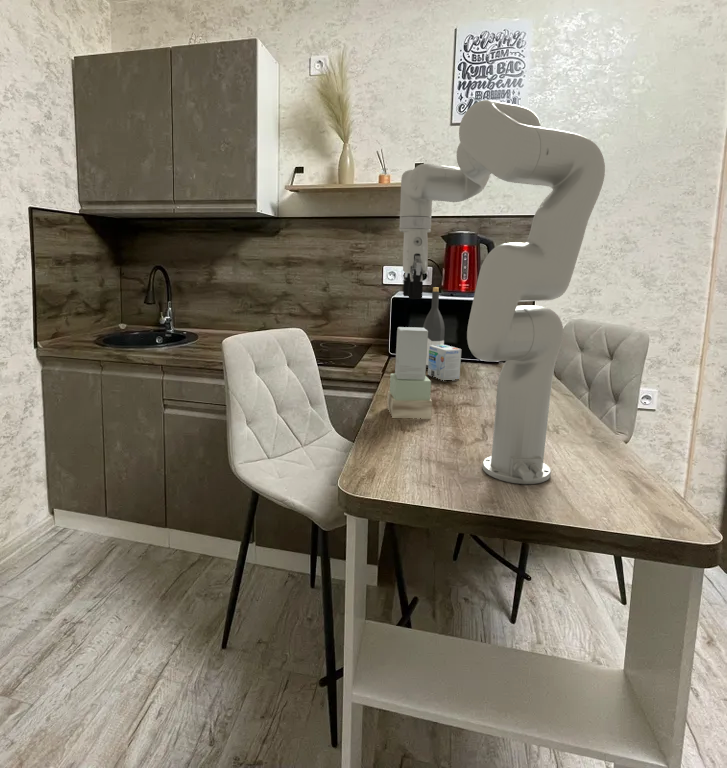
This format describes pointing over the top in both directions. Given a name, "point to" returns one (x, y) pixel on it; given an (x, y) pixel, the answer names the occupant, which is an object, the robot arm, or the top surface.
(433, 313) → the wine bottle
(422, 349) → the supplement box
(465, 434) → the top surface
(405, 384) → the tower top
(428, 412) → the tower base
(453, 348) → the light bulb box
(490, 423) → the top surface
